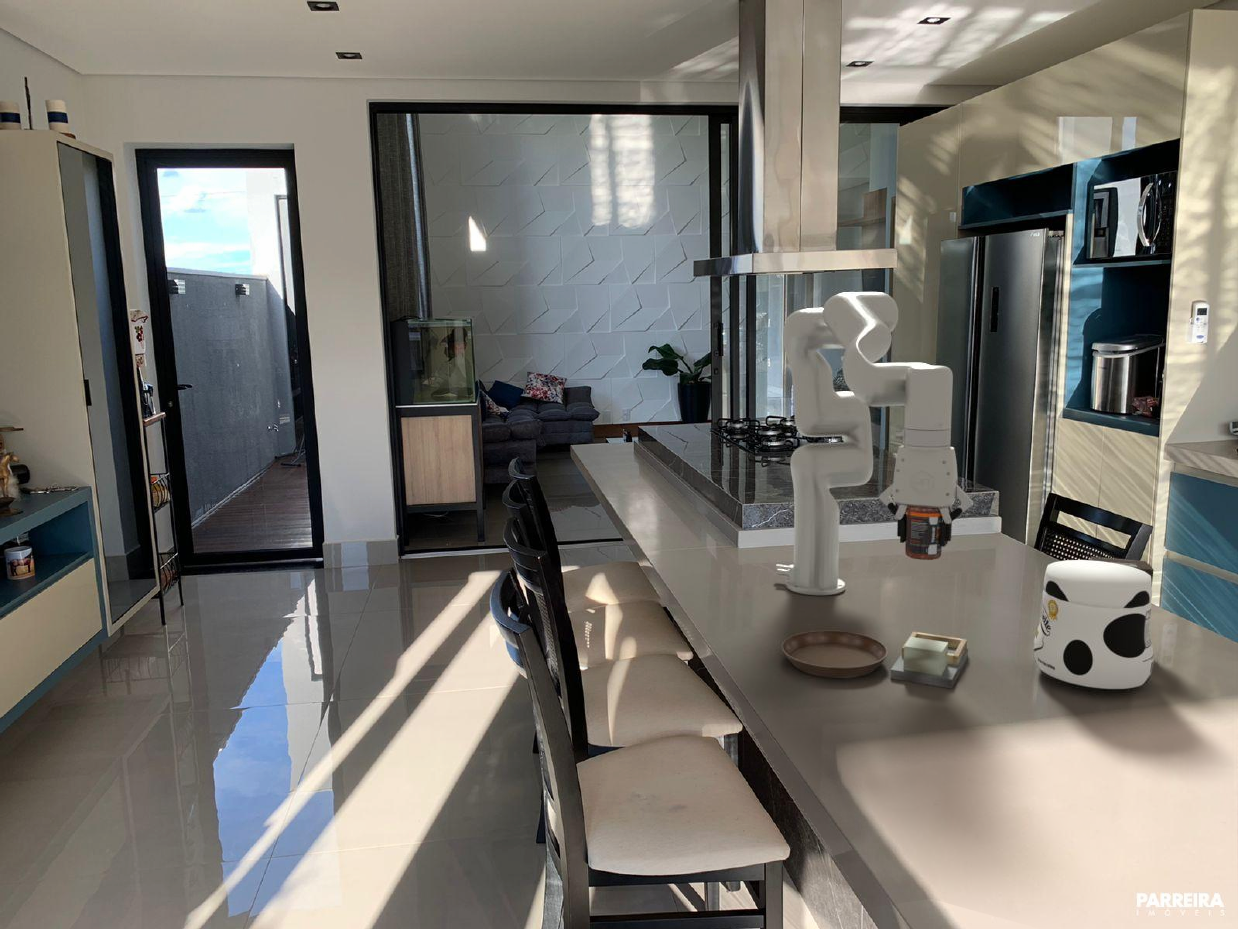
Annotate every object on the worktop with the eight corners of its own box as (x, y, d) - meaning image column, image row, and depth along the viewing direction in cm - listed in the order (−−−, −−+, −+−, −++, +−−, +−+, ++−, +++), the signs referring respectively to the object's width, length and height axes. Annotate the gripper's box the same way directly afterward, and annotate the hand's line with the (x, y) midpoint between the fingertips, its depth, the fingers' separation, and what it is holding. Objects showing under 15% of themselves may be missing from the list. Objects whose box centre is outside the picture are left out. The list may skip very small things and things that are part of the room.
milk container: (1012, 662, 161) (1018, 560, 158) (1109, 658, 162) (1116, 556, 159) (1068, 704, 144) (1076, 590, 141) (1176, 698, 145) (1186, 585, 142)
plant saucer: (805, 688, 152) (805, 670, 151) (766, 650, 169) (767, 634, 168) (906, 678, 155) (907, 661, 154) (858, 642, 172) (859, 626, 172)
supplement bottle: (943, 561, 159) (945, 495, 157) (906, 560, 160) (908, 494, 158) (939, 553, 164) (941, 489, 163) (903, 552, 166) (905, 488, 164)
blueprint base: (890, 678, 154) (891, 646, 154) (911, 647, 168) (912, 617, 167) (951, 688, 150) (953, 655, 149) (967, 656, 164) (969, 625, 163)
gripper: (870, 439, 160) (867, 542, 163) (977, 444, 152) (973, 553, 154) (881, 434, 167) (878, 534, 169) (984, 438, 158) (980, 543, 161)
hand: (923, 542), depth 162 cm, fingers closed on supplement bottle, 6 cm apart
